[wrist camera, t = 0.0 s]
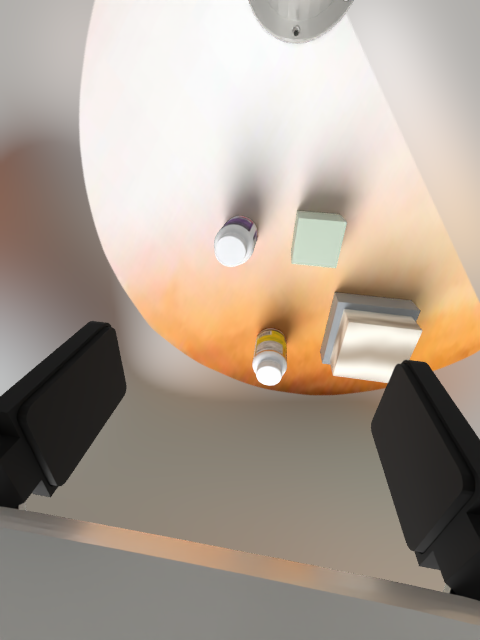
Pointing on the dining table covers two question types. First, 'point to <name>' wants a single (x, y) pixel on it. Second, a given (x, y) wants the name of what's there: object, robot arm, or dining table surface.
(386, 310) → the base block
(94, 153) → the dining table surface
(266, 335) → the supplement bottle
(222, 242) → the pill bottle
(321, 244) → the sage block
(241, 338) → the dining table surface
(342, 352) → the top block
